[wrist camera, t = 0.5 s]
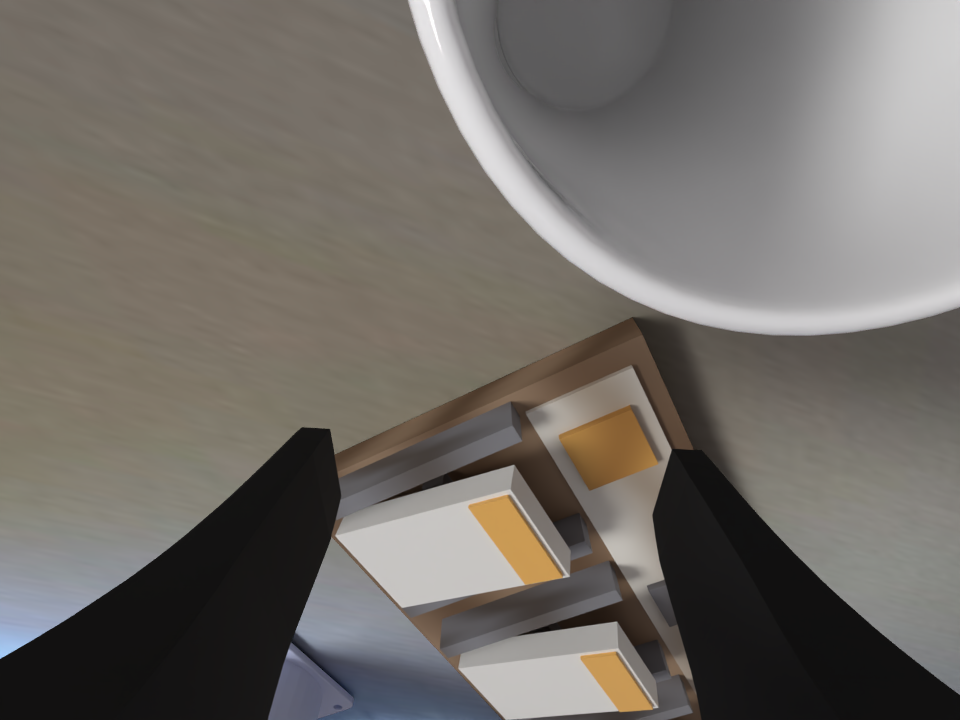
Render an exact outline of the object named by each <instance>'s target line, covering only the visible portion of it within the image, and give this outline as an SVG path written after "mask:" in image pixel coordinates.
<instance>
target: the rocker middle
mask: <svg viewBox="0 0 960 720" xmlns="http://www.w3.org/2000/svg"><path fill="white" fill-rule="evenodd" d="M458 669H459V670H460V671H461V672H462V673H463V674H464V675H465V676H466V677H467V679H468V680H469V681H470V682H471V683H472V684H473V685H474V686H475V687H476V688H477V689H478V690H479V691H480V692H481V694H482V695H483V696H484V697H485V698H486V699H487V700H488V701H489V702H490V703H491V704H492V705H493V706H494V708H495V709H496V710H497V711H498V712H499V713H500V714H501V715H502V716H503V717H504V718H505V719H506V720H512V719H524V718H537V717H550V716H562V715H575V714H588V713H600V712H613V711H619V712H628V711H641V710H653V708H659V706H658V696H657V686H656V680H655V679H654V677H653V676H652V674H651V673H650V671H649V670H648V668H647V667H646V665H645V664H644V662H643V660H642V659H641V657H640V656H639V654H638V653H637V651H636V650H635V648H634V647H633V645H632V644H631V642H630V641H629V639H628V638H627V636H626V634H625V633H624V631H623V630H622V628H621V627H620V625H619V624H618V622H610V623H604V624H597V625H590V626H583V627H576V628H569V629H562V630H555V631H549V632H542V633H535V634H528V635H521V636H514V637H511V638H508V639H505V640H502V641H499V642H496V643H493V644H490V645H487V646H484V647H481V648H478V649H475V650H472V651H469V652H465V653H462V654H461V656H460V661H459V667H458Z"/></svg>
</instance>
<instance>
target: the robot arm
mask: <svg viewBox="0 0 960 720" xmlns="http://www.w3.org/2000/svg"><path fill="white" fill-rule="evenodd" d="M340 500H341V490H340V484H339V478H338V472H337V467H336V461H335V455H334V449H333V443H332V437H331V432H330V429H321V428H304V427H302V428H301V429H300V430H298V431H297V432H296V433H295V434H294V435H293V436H292V437H291V438H290V439H289V440H288V441H287V442H286V443H285V444H284V445H283V446H282V447H281V448H280V449H279V450H278V451H277V452H276V453H275V454H274V455H273V456H272V457H271V458H270V459H269V460H268V461H267V462H266V463H265V464H264V465H263V466H262V467H261V468H259V469H258V470H257V471H256V472H255V473H254V474H253V475H252V476H251V477H250V478H249V479H248V480H247V481H246V482H245V483H244V484H243V485H242V486H240V487H239V488H238V489H237V490H236V491H235V492H234V493H233V494H232V495H231V496H230V497H229V498H228V499H227V500H225V501H224V502H223V503H222V504H221V505H220V506H219V507H218V508H216V509H215V510H214V511H213V512H212V513H211V514H209V515H208V516H207V517H206V518H205V519H204V520H203V521H201V522H200V523H199V524H198V525H197V526H196V527H194V528H193V529H192V530H191V531H190V532H189V533H187V534H186V535H185V536H184V537H182V538H181V539H180V540H179V541H178V542H176V543H175V544H174V545H173V546H171V547H170V548H169V549H167V550H166V551H165V552H164V553H162V554H161V555H160V556H158V557H157V558H156V559H154V560H153V561H152V562H150V563H149V564H148V565H146V566H145V567H144V568H142V569H141V570H140V571H138V572H137V573H136V574H134V575H133V576H131V577H130V578H129V579H127V580H126V581H124V582H123V583H121V584H120V585H118V586H117V587H115V588H114V589H112V590H111V591H109V592H108V593H106V594H105V595H103V596H102V597H100V598H99V599H97V600H96V601H94V602H93V603H91V604H90V605H88V606H87V607H85V608H84V609H82V610H81V611H79V612H78V613H76V614H75V615H73V616H72V617H70V618H68V619H67V620H65V621H64V622H62V623H60V624H59V625H57V626H55V627H54V628H52V629H50V630H49V631H47V632H45V633H44V634H42V635H41V636H39V637H37V638H36V639H34V640H32V641H31V642H29V643H27V644H25V645H24V646H22V647H20V648H18V649H17V650H15V651H13V652H11V653H10V654H8V655H6V656H5V657H3V658H1V659H0V720H317V719H319V718H322V717H325V716H328V715H331V714H334V713H337V712H340V711H344V710H347V709H349V708H351V707H352V706H353V702H354V698H353V697H352V696H351V695H350V694H349V693H348V692H347V691H345V690H344V689H343V688H342V687H341V686H340V685H339V684H338V683H336V682H335V681H334V680H333V679H332V678H331V677H330V676H329V675H327V674H326V673H325V672H324V671H323V670H322V669H321V668H320V667H318V666H317V665H316V664H315V663H314V662H313V661H312V660H310V659H309V658H308V657H307V656H306V655H305V654H304V653H303V652H301V651H300V650H299V649H298V648H297V647H296V646H295V645H294V644H292V643H291V641H292V638H293V636H294V633H295V631H296V628H297V626H298V623H299V620H300V618H301V615H302V613H303V610H304V608H305V605H306V602H307V600H308V597H309V595H310V592H311V590H312V587H313V584H314V582H315V579H316V577H317V574H318V572H319V569H320V566H321V564H322V561H323V558H324V556H325V553H326V551H327V548H328V545H329V542H330V540H331V536H332V532H333V528H334V525H335V521H336V517H337V513H338V508H339V504H340ZM652 518H653V524H654V531H655V538H656V544H657V550H658V556H659V562H660V565H661V569H662V573H663V576H664V580H665V583H666V587H667V590H668V594H669V597H670V601H671V604H672V608H673V611H674V615H675V618H676V621H677V625H678V628H679V632H680V635H681V639H682V642H683V646H684V649H685V652H686V656H687V659H688V663H689V666H690V670H691V674H692V678H693V682H694V686H695V690H696V694H697V699H698V704H699V709H700V715H701V720H960V695H959V694H958V693H956V692H955V691H954V690H952V689H951V688H949V687H948V686H947V685H945V684H944V683H943V682H941V681H940V680H939V679H938V678H936V677H935V676H934V675H933V674H931V673H930V672H929V671H927V670H926V669H925V668H924V667H922V666H921V665H920V664H919V663H917V662H916V661H915V660H913V659H912V658H911V657H910V656H908V655H907V654H906V653H905V652H903V651H902V650H901V649H899V648H898V647H897V646H896V645H895V644H893V643H892V642H891V641H890V640H889V639H887V638H886V637H885V636H884V635H882V634H881V633H880V632H879V631H878V630H876V629H875V628H874V627H873V626H872V625H871V624H870V623H868V622H867V621H866V620H865V619H864V618H863V617H862V616H860V615H859V614H858V613H857V612H856V611H855V610H854V609H853V608H851V607H850V606H849V605H848V604H847V603H846V602H845V601H843V600H842V599H841V598H840V597H839V596H838V595H837V594H836V593H835V592H834V591H832V590H831V589H830V588H829V587H828V586H827V585H826V584H825V583H824V582H823V581H822V580H821V579H820V578H819V577H818V576H817V575H816V574H815V573H814V572H813V571H812V570H811V569H810V568H809V567H808V566H807V565H806V564H805V563H804V562H803V561H802V560H801V559H799V558H798V557H797V556H796V555H795V554H794V553H793V552H792V550H791V549H790V548H789V547H788V546H787V545H786V544H785V543H784V542H783V541H782V540H781V539H780V538H779V537H778V536H777V535H776V534H775V533H774V532H773V530H772V529H771V528H770V527H769V526H768V525H767V524H766V523H765V522H764V521H763V520H762V519H761V517H760V516H759V515H758V514H757V513H756V512H755V511H754V510H753V509H752V507H751V506H750V505H749V504H748V503H747V502H746V501H745V500H744V498H743V497H742V496H741V495H740V494H739V493H738V491H737V490H736V489H735V488H734V487H733V486H732V485H731V483H730V482H729V481H728V480H727V479H726V478H725V476H724V475H723V474H722V473H721V472H720V471H719V469H718V468H717V467H716V466H715V465H714V464H713V463H712V461H711V460H710V459H709V458H708V457H707V456H706V454H705V453H704V452H703V451H702V450H687V449H672V451H671V454H670V457H669V461H668V464H667V467H666V471H665V474H664V477H663V481H662V484H661V487H660V491H659V494H658V497H657V500H656V504H655V507H654V510H653V514H652Z"/></svg>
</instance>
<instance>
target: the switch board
mask: <svg viewBox="0 0 960 720" xmlns="http://www.w3.org/2000/svg"><path fill="white" fill-rule="evenodd" d="M672 449H687V450H694V449H693V447H692V444H691V442H690V440H689V438H688V435H687V433H686V431H685V429H684V426H683V424H682V422H681V420H680V417H679V415H678V413H677V411H676V408H675V406H674V404H673V402H672V400H671V397H670V395H669V393H668V391H667V388H666V386H665V384H664V382H663V379H662V377H661V375H660V373H659V370H658V368H657V366H656V364H655V361H654V359H653V357H652V355H651V352H650V350H649V348H648V346H647V344H646V341H645V339H644V337H643V335H642V333H641V331H640V329H639V328H638V326H637V324H636V323H635V321H634V319H633V317H632V318H630V319H628V320H626V321H624V322H622V323H619V324H617V325H615V326H613V327H611V328H609V329H606V330H604V331H602V332H600V333H598V334H596V335H593V336H591V337H589V338H587V339H585V340H583V341H580V342H578V343H576V344H574V345H572V346H570V347H567V348H565V349H563V350H561V351H559V352H556V353H554V354H552V355H550V356H548V357H546V358H543V359H541V360H539V361H537V362H535V363H533V364H530V365H528V366H526V367H524V368H522V369H520V370H517V371H515V372H513V373H511V374H509V375H507V376H504V377H502V378H500V379H498V380H496V381H494V382H491V383H489V384H487V385H485V386H483V387H481V388H478V389H476V390H474V391H472V392H470V393H468V394H465V395H463V396H461V397H459V398H457V399H455V400H452V401H450V402H448V403H446V404H444V405H442V406H439V407H437V408H435V409H433V410H431V411H429V412H426V413H424V414H422V415H420V416H418V417H416V418H413V419H411V420H409V421H407V422H405V423H403V424H400V425H398V426H396V427H394V428H392V429H390V430H387V431H385V432H383V433H381V434H379V435H377V436H374V437H372V438H370V439H368V440H366V441H364V442H361V443H359V444H357V445H355V446H353V447H351V448H348V449H346V450H344V451H342V452H340V453H338V454H335V461H336V467H337V472H338V478H339V484H340V490H341V500H340V504H339V508H338V513H337V517H336V521H335V525H334V528H333V532H332V536H331V537H332V538H333V539H334V540H335V541H336V542H337V543H338V544H339V545H340V546H341V547H342V548H343V549H344V550H345V552H346V553H347V554H348V555H349V556H350V557H351V558H352V559H353V560H354V561H355V562H356V563H357V564H358V565H359V567H360V568H361V569H362V570H363V571H364V572H365V573H366V574H367V575H368V576H369V577H370V578H371V579H372V580H373V582H374V583H375V584H376V585H377V586H378V587H379V588H380V589H381V590H382V591H383V592H384V593H385V594H386V595H387V597H388V598H389V599H390V600H391V601H392V602H393V603H394V604H395V605H396V606H397V607H398V608H399V609H400V610H401V612H402V613H403V614H404V615H405V616H406V617H407V618H408V619H409V620H410V621H411V622H412V623H413V624H414V625H415V627H416V628H417V629H418V630H419V631H420V632H421V633H422V634H423V635H424V636H425V637H426V638H427V639H428V640H429V641H430V643H431V644H432V645H433V646H434V647H435V648H436V649H437V650H438V651H439V652H440V653H441V654H442V655H443V656H444V658H445V659H446V660H447V661H448V662H449V663H450V664H451V665H452V666H453V667H454V668H455V669H456V670H457V671H458V673H459V674H460V675H461V676H462V677H463V678H464V679H465V680H466V681H467V682H468V683H469V684H470V685H471V686H472V688H473V689H474V690H475V691H476V692H477V693H478V694H479V695H480V696H481V697H482V698H483V699H484V700H485V701H486V703H487V704H488V705H489V706H490V707H491V708H492V709H493V710H494V711H495V712H496V713H497V714H498V715H499V716H500V718H501V719H502V720H506V719H505V718H504V717H503V716H502V715H501V714H500V713H499V712H498V711H497V710H496V709H495V708H494V706H493V705H492V704H491V703H490V702H489V701H488V700H487V699H486V698H485V697H484V696H483V695H482V694H481V692H480V691H479V690H478V689H477V688H476V687H475V686H474V685H473V684H472V683H471V682H470V681H469V680H468V679H467V677H466V676H465V675H464V674H463V673H462V672H461V671H460V670H459V669H458V667H459V661H460V656H461V654H462V653H465V652H469V651H472V650H475V649H478V648H481V647H484V646H487V645H490V644H493V643H496V642H499V641H502V640H505V639H508V638H511V637H514V636H521V635H528V634H535V633H542V632H549V631H555V630H562V629H569V628H576V627H583V626H590V625H597V624H604V623H610V622H618V624H619V625H620V627H621V628H622V630H623V631H624V633H625V634H626V636H627V638H628V639H629V641H630V642H631V644H632V645H633V647H634V648H635V650H636V651H637V653H638V654H639V656H640V657H641V659H642V660H643V662H644V664H645V665H646V667H647V668H648V670H649V671H650V673H651V674H652V676H653V677H654V679H655V680H656V686H657V696H658V706H659V708H653V710H641V711H628V712H619V711H613V712H600V713H588V714H575V715H562V716H550V717H537V718H524V719H512V720H701V715H700V709H699V704H698V699H697V694H696V690H695V686H694V682H693V678H692V674H691V670H690V666H689V663H688V659H687V656H686V652H685V649H684V646H683V642H682V639H681V635H680V632H679V628H678V625H677V621H676V618H675V615H674V611H673V608H672V604H671V601H670V597H669V594H668V590H667V587H666V583H665V580H664V576H663V573H662V569H661V565H660V562H659V556H658V550H657V544H656V538H655V531H654V524H653V518H652V514H653V510H654V507H655V504H656V500H657V497H658V494H659V491H660V487H661V484H662V481H663V477H664V474H665V471H666V467H667V464H668V461H669V457H670V454H671V451H672ZM512 465H515V466H516V468H517V470H518V471H519V473H520V474H521V476H522V477H523V479H524V480H525V482H526V483H527V485H528V486H529V488H530V489H531V491H532V492H533V494H534V495H535V497H536V499H537V500H538V502H539V503H540V505H541V506H542V508H543V509H544V511H545V512H546V514H547V515H548V517H549V518H550V520H551V521H552V523H553V525H554V526H555V528H556V529H557V531H558V532H559V534H560V535H561V537H562V538H563V540H564V541H565V543H566V544H567V546H568V547H569V549H570V550H571V555H570V577H566V578H561V579H555V580H550V581H544V582H539V583H534V584H528V585H523V586H517V587H512V588H507V589H501V590H496V591H491V592H485V593H480V594H474V595H469V596H464V597H458V598H453V599H447V600H442V601H437V602H431V603H426V604H421V605H415V606H410V607H404V608H402V607H401V606H400V605H399V604H398V603H397V602H396V601H395V600H394V599H393V598H392V597H391V596H390V595H389V593H388V592H387V591H386V590H385V589H384V588H383V587H382V586H381V585H380V584H379V583H378V582H377V581H376V579H375V578H374V577H373V576H372V575H371V574H370V573H369V572H368V571H367V570H366V569H365V568H364V567H363V565H362V564H361V563H360V562H359V561H358V560H357V559H356V558H355V557H354V556H353V555H352V554H351V553H350V551H349V550H348V549H347V548H346V547H345V546H344V545H343V544H342V543H341V542H340V541H339V540H338V539H337V537H336V536H335V535H336V533H337V530H338V528H339V526H340V524H341V522H342V520H343V518H344V517H345V516H347V515H350V514H352V513H354V512H357V511H359V510H362V509H364V508H366V507H369V506H371V505H375V504H378V503H382V502H385V501H389V500H392V499H396V498H399V497H403V496H406V495H410V494H413V493H417V492H420V491H424V490H427V489H431V488H434V487H438V486H441V485H445V484H448V483H452V482H456V481H459V480H463V479H466V478H470V477H473V476H477V475H480V474H484V473H487V472H491V471H494V470H498V469H501V468H505V467H508V466H512Z"/></svg>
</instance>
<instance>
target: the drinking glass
mask: <svg viewBox="0 0 960 720" xmlns="http://www.w3.org/2000/svg"><path fill="white" fill-rule="evenodd" d="M408 3H409V6H410V10H411V13H412V16H413V20H414V23H415V27H416V30H417V33H418V37H419V40H420V42H421V45H422V47H423V50H424V53H425V55H426V58H427V60H428V63H429V65H430V68H431V71H432V73H433V76H434V78H435V81H436V83H437V86H438V88H439V90H440V92H441V94H442V96H443V98H444V100H445V102H446V104H447V106H448V109H449V111H450V113H451V115H452V117H453V119H454V121H455V123H456V125H457V127H458V129H459V131H460V132H461V134H462V136H463V137H464V139H465V141H466V142H467V144H468V145H469V147H470V149H471V150H472V152H473V154H474V155H475V157H476V158H477V160H478V162H479V163H480V165H481V167H482V168H483V170H484V171H485V172H486V174H487V175H488V176H489V178H490V179H491V180H492V182H493V183H494V184H495V186H496V187H497V188H498V190H499V191H500V192H501V193H502V195H503V196H504V197H505V199H506V200H507V201H508V203H509V204H510V205H511V206H512V207H513V208H514V209H515V210H516V212H517V213H518V214H519V215H520V216H521V217H522V218H523V219H524V220H525V221H526V222H527V223H528V224H529V225H530V227H531V228H532V229H533V230H534V231H535V232H536V233H537V234H538V235H539V236H540V237H541V238H543V239H544V240H545V241H546V242H547V243H548V244H549V245H551V246H552V247H553V248H554V249H555V250H556V251H558V252H559V253H560V254H561V255H562V256H563V257H564V258H566V259H567V260H568V261H570V262H571V263H572V264H574V265H575V266H577V267H578V268H580V269H581V270H582V271H584V272H585V273H587V274H588V275H589V276H591V277H592V278H594V279H595V280H597V281H598V282H600V283H602V284H604V285H605V286H607V287H609V288H611V289H613V290H614V291H616V292H618V293H620V294H622V295H623V296H625V297H627V298H629V299H631V300H633V301H636V302H638V303H640V304H643V305H645V306H647V307H650V308H652V309H654V310H657V311H659V312H661V313H664V314H667V315H670V316H674V317H677V318H680V319H683V320H687V321H690V322H693V323H696V324H700V325H705V326H710V327H715V328H720V329H725V330H730V331H736V332H745V333H754V334H764V335H790V336H813V335H827V334H841V333H851V332H857V331H864V330H871V329H877V328H884V327H889V326H894V325H898V324H902V323H906V322H911V321H915V320H919V319H924V318H928V317H931V316H935V315H938V314H941V313H944V312H948V311H951V310H954V309H957V308H960V0H408Z"/></svg>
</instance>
